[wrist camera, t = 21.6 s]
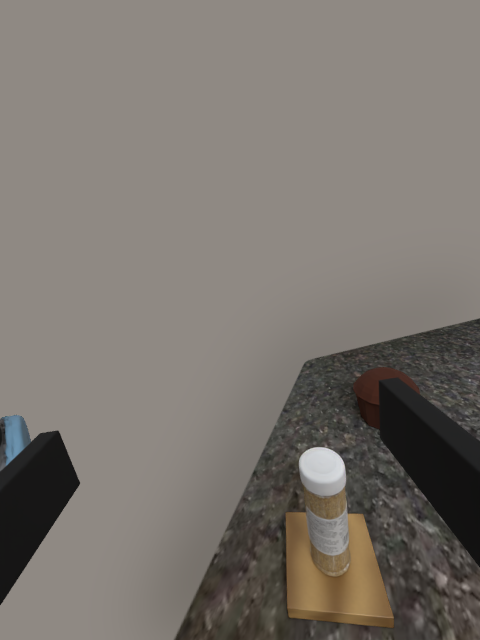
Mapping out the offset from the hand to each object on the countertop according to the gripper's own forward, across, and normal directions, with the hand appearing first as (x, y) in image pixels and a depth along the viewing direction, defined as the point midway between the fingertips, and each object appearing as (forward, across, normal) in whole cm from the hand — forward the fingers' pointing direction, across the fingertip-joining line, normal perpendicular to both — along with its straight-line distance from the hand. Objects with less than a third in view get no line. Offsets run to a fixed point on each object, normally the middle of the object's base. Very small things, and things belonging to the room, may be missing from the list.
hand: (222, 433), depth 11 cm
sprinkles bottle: (+13, +7, -29) cm, 32 cm away
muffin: (+36, +26, -30) cm, 54 cm away
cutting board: (+13, +7, -30) cm, 33 cm away
